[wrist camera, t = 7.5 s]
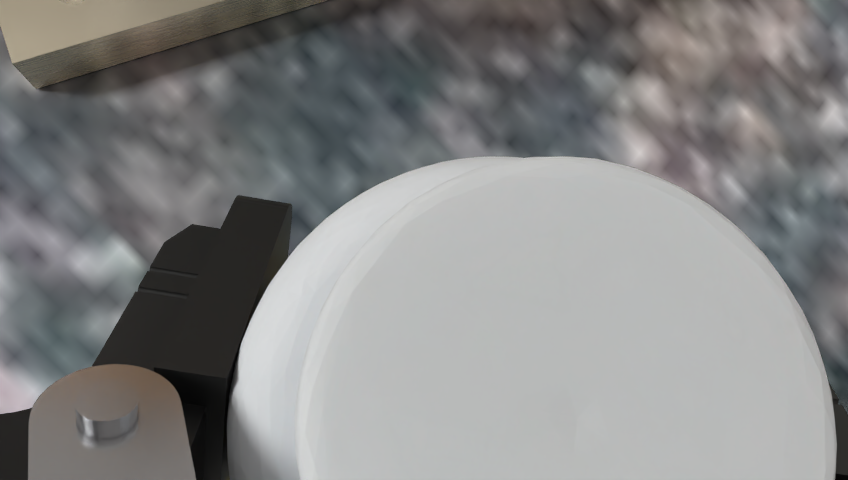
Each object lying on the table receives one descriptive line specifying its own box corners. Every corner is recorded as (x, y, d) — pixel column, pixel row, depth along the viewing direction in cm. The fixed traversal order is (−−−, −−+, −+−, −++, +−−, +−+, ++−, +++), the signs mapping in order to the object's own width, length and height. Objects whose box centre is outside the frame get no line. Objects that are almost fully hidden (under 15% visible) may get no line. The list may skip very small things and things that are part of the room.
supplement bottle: (589, 313, 16) (976, 148, 6) (540, 600, 15) (931, 957, 5) (321, 250, 16) (291, -25, 6) (248, 537, 15) (56, 780, 5)
